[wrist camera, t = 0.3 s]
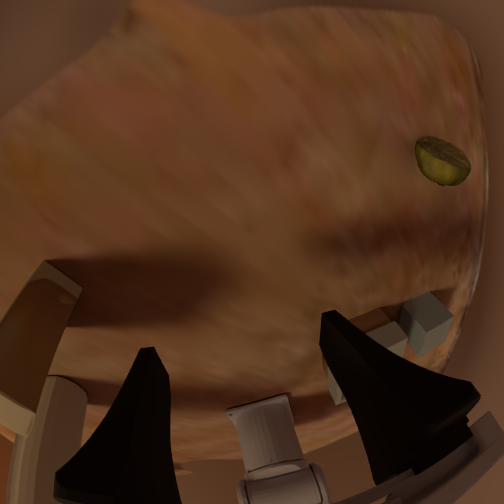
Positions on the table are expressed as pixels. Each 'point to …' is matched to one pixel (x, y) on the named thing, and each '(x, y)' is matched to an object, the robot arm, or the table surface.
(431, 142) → the lime
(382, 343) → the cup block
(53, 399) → the paper towel roll
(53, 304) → the skincare box
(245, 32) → the table surface
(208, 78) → the table surface
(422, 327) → the grey small block
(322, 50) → the table surface
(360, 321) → the walnut block
